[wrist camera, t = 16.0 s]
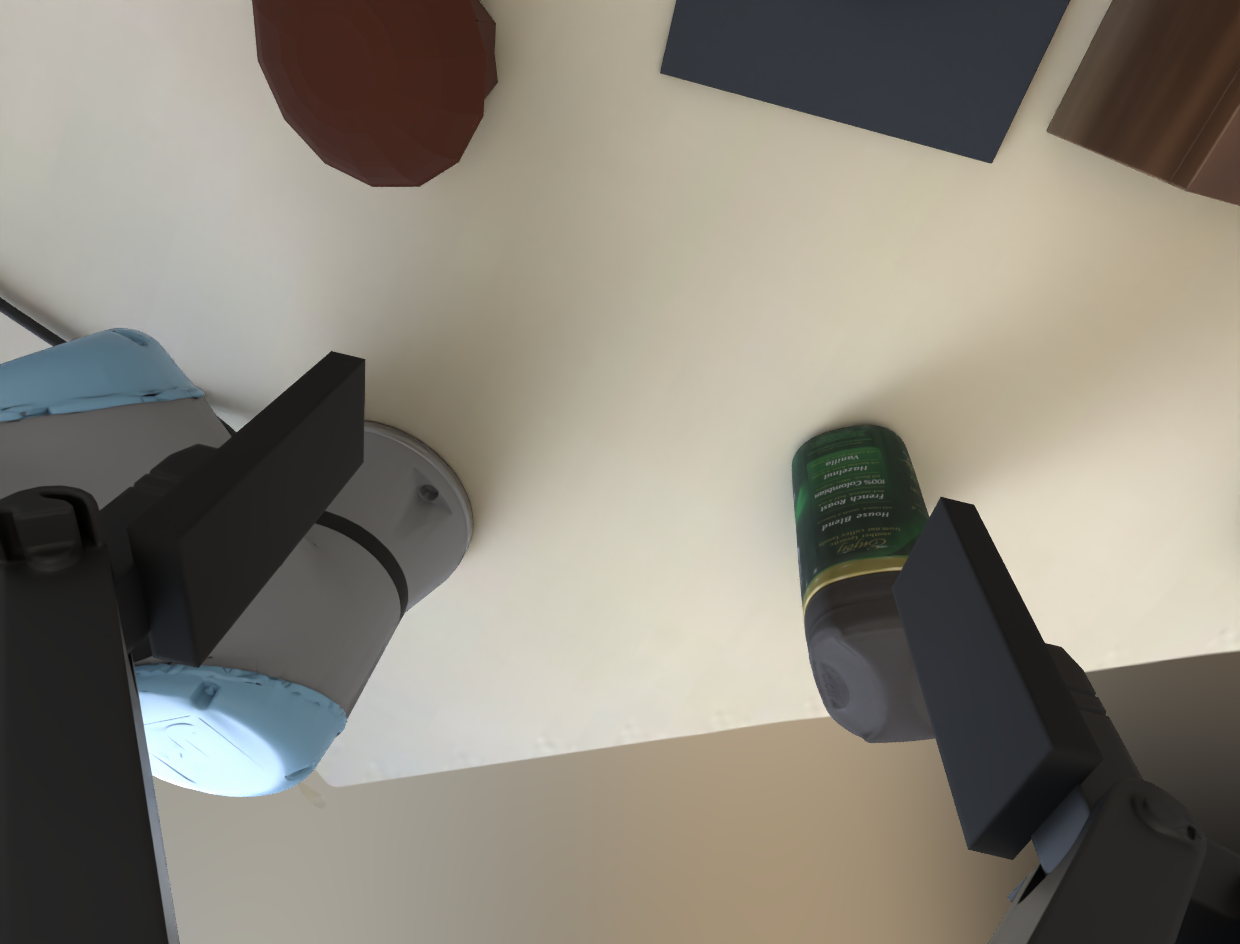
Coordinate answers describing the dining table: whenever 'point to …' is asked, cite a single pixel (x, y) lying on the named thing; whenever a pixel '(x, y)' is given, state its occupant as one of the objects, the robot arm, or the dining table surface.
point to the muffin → (379, 80)
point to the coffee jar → (859, 578)
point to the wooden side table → (1162, 93)
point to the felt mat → (873, 61)
